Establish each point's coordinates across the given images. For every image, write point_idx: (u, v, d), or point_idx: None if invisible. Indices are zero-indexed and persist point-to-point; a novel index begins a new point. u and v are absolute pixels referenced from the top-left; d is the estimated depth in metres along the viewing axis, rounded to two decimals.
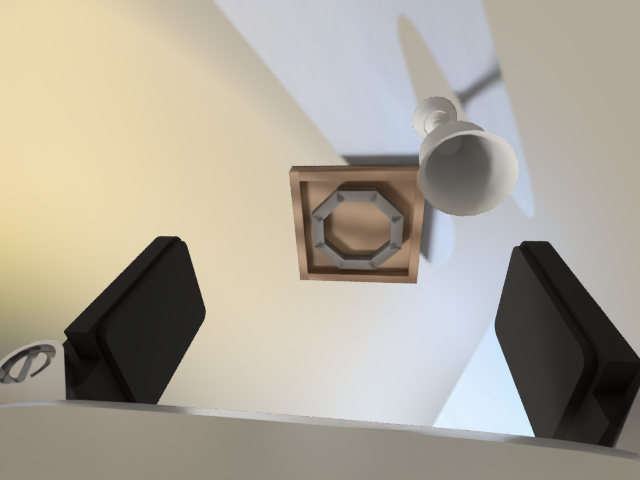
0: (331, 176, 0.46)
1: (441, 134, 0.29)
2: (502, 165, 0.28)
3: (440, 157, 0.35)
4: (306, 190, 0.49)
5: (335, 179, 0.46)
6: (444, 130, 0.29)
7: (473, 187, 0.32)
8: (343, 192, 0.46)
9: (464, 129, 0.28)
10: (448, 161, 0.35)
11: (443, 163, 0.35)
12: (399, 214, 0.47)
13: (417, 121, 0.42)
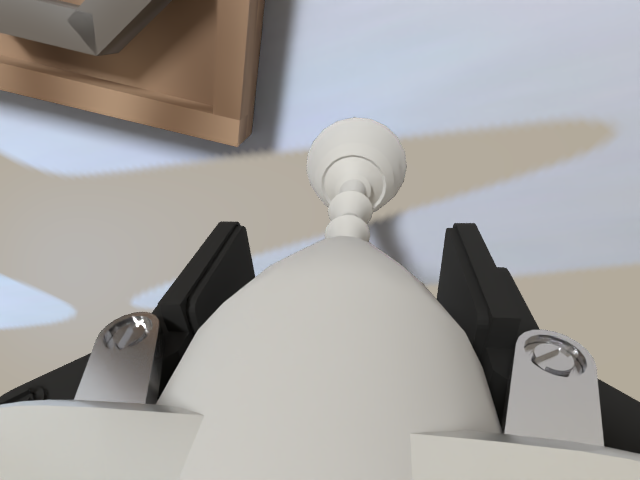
0: None
1: None
2: None
3: None
4: None
5: None
6: None
7: None
8: None
9: None
10: None
11: None
12: (101, 43, 0.15)
13: (367, 136, 0.17)
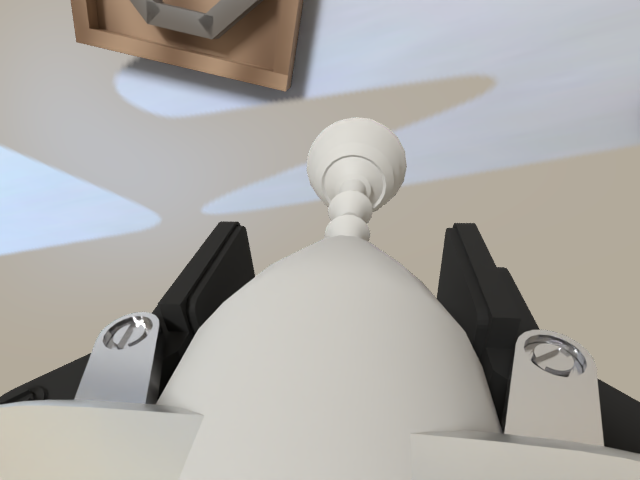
0: None
1: None
2: None
3: None
4: None
5: None
6: None
7: None
8: None
9: None
10: None
11: None
12: (216, 32, 0.27)
13: (367, 136, 0.17)
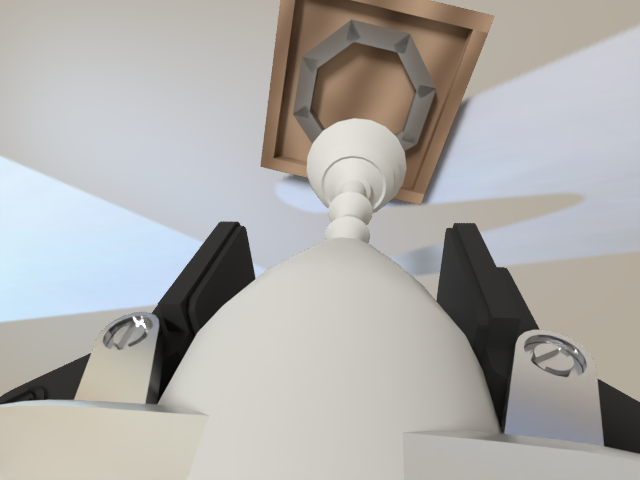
0: (459, 85, 0.32)
1: None
2: None
3: None
4: (445, 32, 0.31)
5: (453, 90, 0.32)
6: None
7: None
8: (431, 98, 0.32)
9: None
10: None
11: None
12: None
13: (367, 137, 0.17)
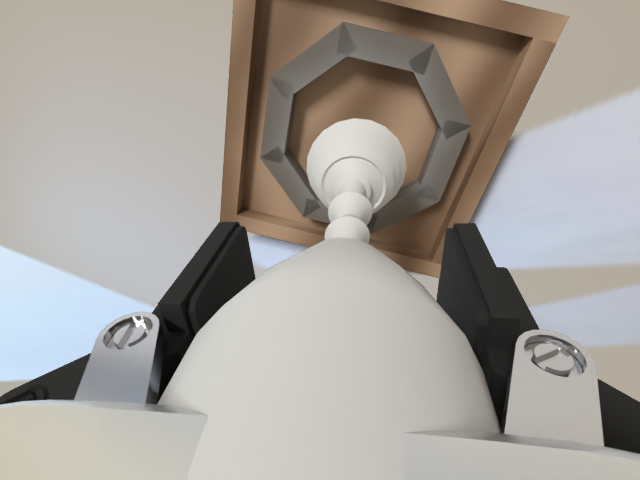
0: (506, 121, 0.21)
1: None
2: None
3: None
4: (487, 41, 0.20)
5: (495, 127, 0.21)
6: None
7: None
8: (462, 139, 0.22)
9: None
10: None
11: None
12: (377, 228, 0.25)
13: (367, 137, 0.17)
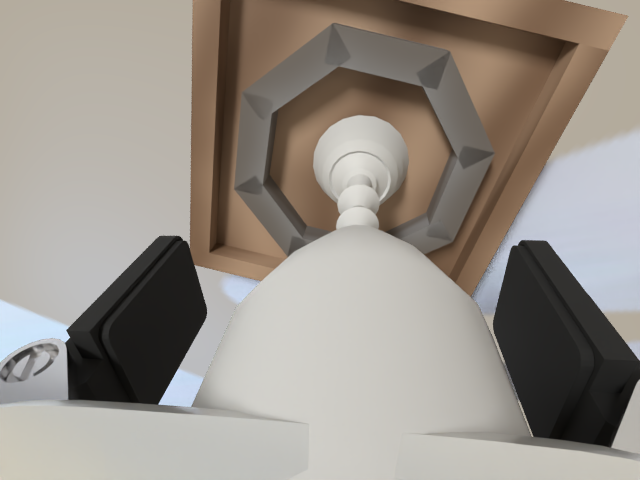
0: (539, 147, 0.17)
1: None
2: None
3: None
4: (517, 47, 0.16)
5: (525, 155, 0.17)
6: None
7: None
8: (483, 169, 0.17)
9: None
10: None
11: None
12: None
13: (372, 133, 0.17)
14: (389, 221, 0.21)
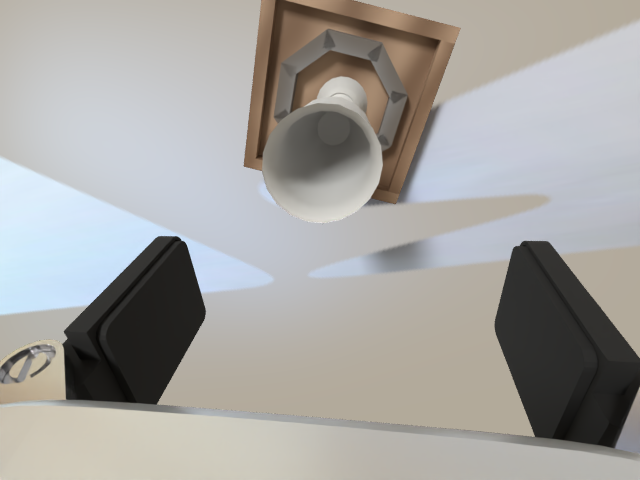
0: (429, 92, 0.34)
1: None
2: (317, 201, 0.24)
3: (317, 118, 0.28)
4: (416, 42, 0.33)
5: (423, 96, 0.34)
6: None
7: (287, 163, 0.25)
8: (403, 103, 0.34)
9: None
10: (311, 128, 0.28)
11: (311, 122, 0.27)
12: None
13: (346, 85, 0.34)
14: None
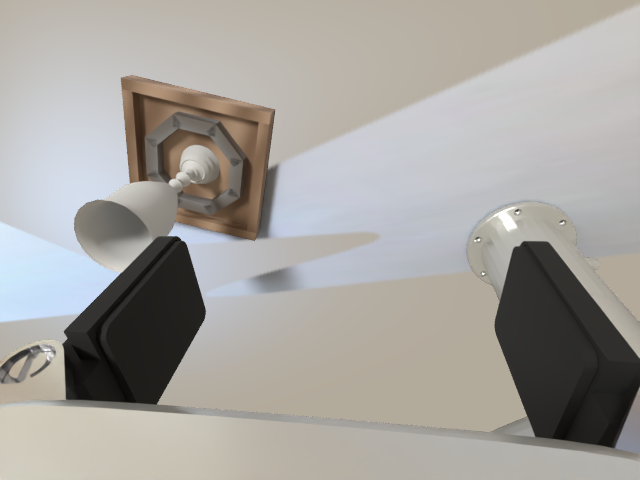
0: (259, 158, 0.43)
1: (156, 213, 0.32)
2: (130, 256, 0.34)
3: None
4: (245, 121, 0.42)
5: (256, 161, 0.43)
6: (162, 213, 0.33)
7: (112, 227, 0.34)
8: (241, 166, 0.44)
9: (160, 232, 0.32)
10: None
11: None
12: (213, 212, 0.47)
13: (197, 152, 0.44)
14: (218, 190, 0.47)
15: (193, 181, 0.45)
